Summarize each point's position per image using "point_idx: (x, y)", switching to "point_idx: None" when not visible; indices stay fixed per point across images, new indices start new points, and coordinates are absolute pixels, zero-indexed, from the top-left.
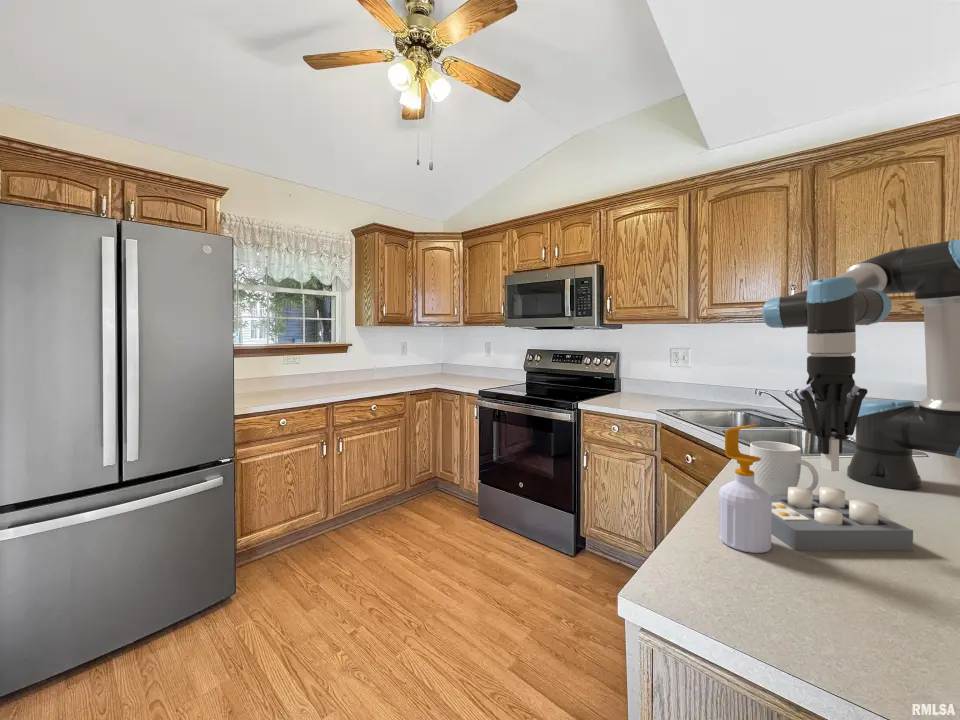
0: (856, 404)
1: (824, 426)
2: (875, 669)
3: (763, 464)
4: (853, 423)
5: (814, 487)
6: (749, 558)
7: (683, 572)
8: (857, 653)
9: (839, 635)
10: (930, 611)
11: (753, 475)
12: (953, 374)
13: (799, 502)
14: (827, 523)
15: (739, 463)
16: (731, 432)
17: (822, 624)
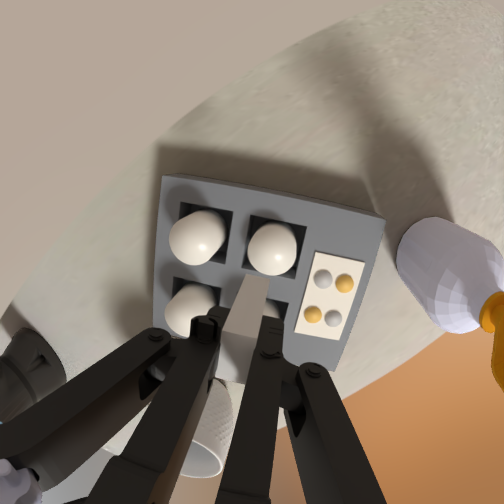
0: (48, 423)
1: (280, 393)
2: (475, 22)
3: (225, 431)
4: (122, 358)
5: None
6: (459, 210)
7: None
8: (476, 36)
9: (475, 55)
10: (338, 40)
11: (494, 294)
12: None
13: (273, 312)
14: (291, 233)
15: None
16: None
17: (479, 71)
